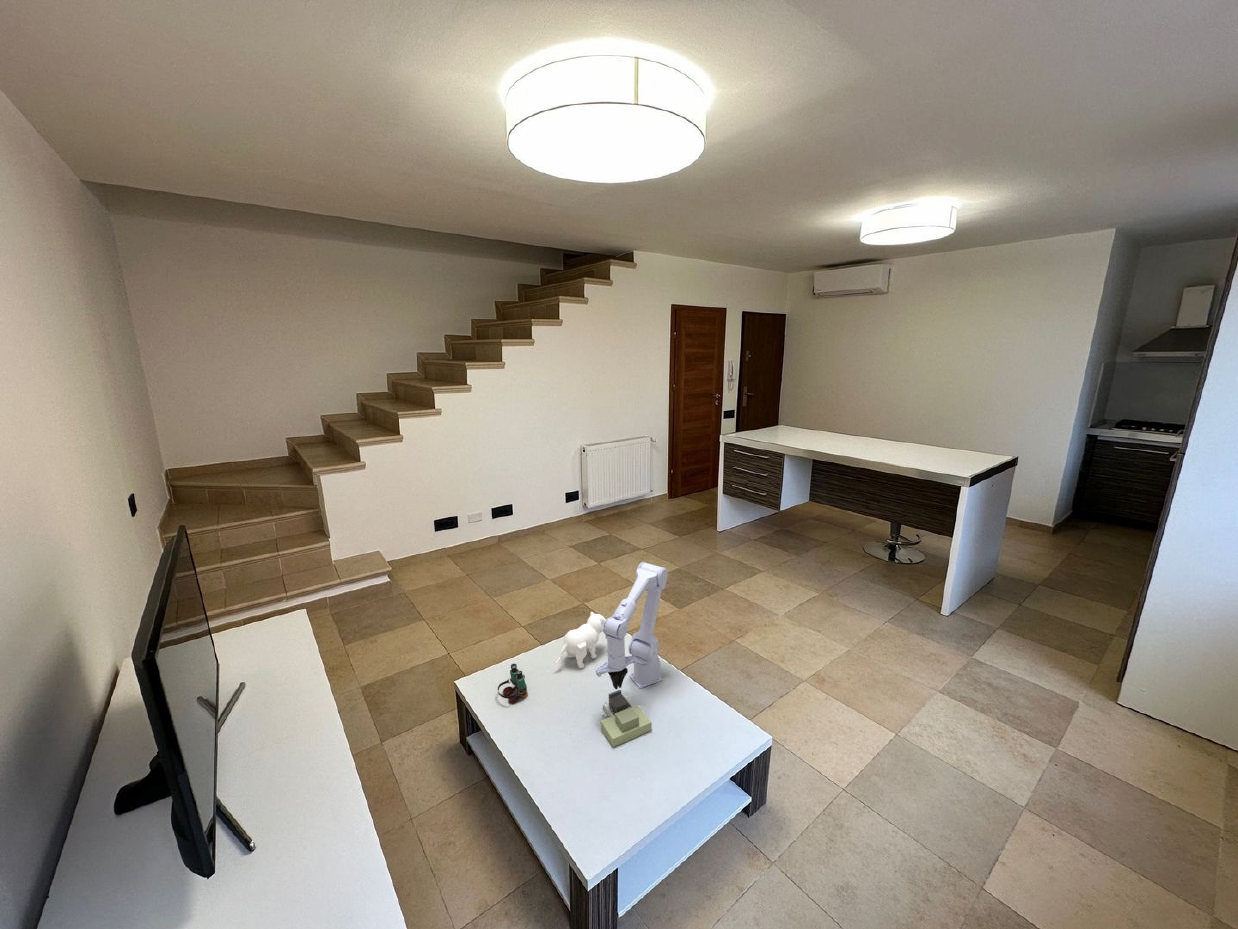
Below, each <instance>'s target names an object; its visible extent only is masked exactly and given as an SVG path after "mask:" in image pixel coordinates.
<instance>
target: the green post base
mask: <svg viewBox="0 0 1238 929" xmlns="http://www.w3.org/2000/svg"><path fill="white" fill-rule="evenodd" d="M623 696H624V698H625V699H626V700H627V702H628V703H629V708H628V709H625V710H623V711H620V712H618V713H615V714H614V713H613V711H612V710H611V708H610V707H609V705H608V704H607V703H606V702H604V703H602V709H603V710H604V712H605V713H606V714H607V716H608V717H606V718H604V719H601V720H600V729H601V731H602V732H603V734H604V735H605V737H606V738H607V740H608V742H609V743H610V745H611V746H612V748H615V747H617V746H619V745H621V744H624V743H625V742H628V741H631V740H633V739H634V738H637V737H639V736H641V735H643V734H646V733H648V732H650V731H652V729H653V728H652V726H653V724H652V720H650V718H649V717H648V716H647V714H646V713H645V712H644V711H643V710H642V707H640V705H635V704H634V703H633V702H632V701H631V699H630V698H629V697H628V696H627V695H626V694H625V695H623Z"/></svg>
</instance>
